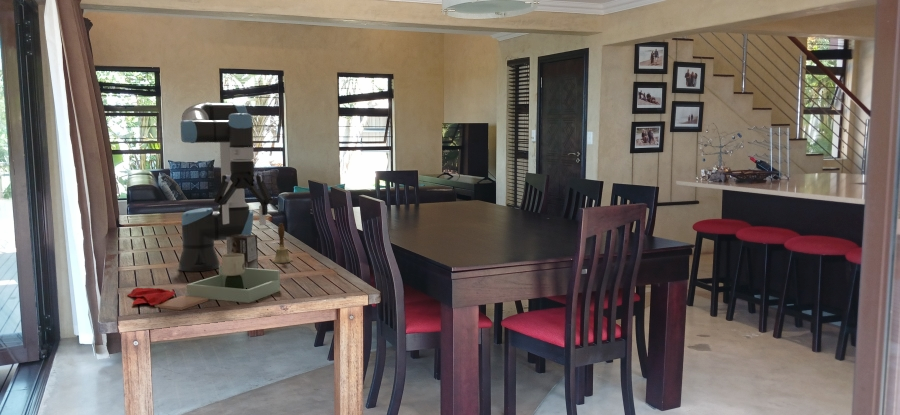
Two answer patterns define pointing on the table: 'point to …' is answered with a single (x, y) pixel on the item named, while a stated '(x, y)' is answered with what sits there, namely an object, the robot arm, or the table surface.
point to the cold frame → (253, 280)
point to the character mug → (233, 270)
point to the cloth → (150, 295)
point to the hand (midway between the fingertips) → (244, 224)
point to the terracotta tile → (181, 302)
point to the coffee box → (244, 248)
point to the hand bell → (281, 248)
